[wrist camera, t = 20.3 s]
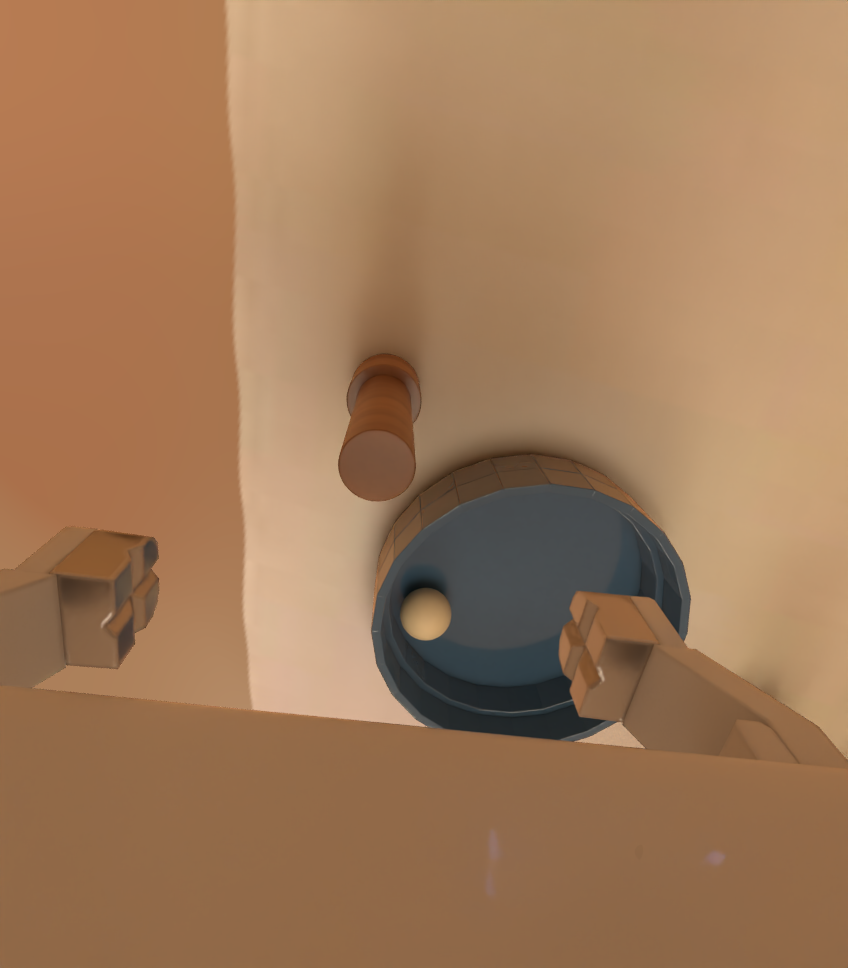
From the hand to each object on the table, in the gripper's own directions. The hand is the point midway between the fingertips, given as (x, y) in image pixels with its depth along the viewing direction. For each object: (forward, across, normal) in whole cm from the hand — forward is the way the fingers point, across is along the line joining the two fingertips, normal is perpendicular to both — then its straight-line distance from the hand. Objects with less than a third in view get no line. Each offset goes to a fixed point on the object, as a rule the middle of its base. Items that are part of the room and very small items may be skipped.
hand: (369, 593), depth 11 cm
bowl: (+20, -9, +12) cm, 25 cm away
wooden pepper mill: (+20, 0, +1) cm, 20 cm away
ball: (+18, -4, +13) cm, 23 cm away
